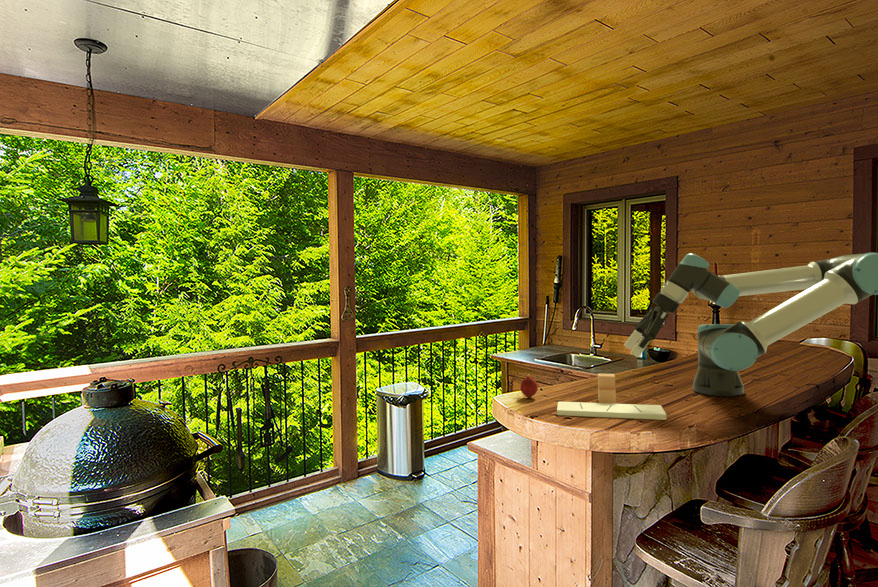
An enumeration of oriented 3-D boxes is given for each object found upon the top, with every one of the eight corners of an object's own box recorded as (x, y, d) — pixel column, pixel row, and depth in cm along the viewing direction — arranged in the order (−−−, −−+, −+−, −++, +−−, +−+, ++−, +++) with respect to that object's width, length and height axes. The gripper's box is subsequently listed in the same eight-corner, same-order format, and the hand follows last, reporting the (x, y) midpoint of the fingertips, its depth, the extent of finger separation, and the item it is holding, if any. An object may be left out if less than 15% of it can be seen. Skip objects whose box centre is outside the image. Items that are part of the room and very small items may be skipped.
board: (660, 410, 146) (660, 405, 146) (666, 419, 137) (666, 414, 137) (558, 406, 155) (558, 401, 155) (556, 415, 145) (556, 410, 145)
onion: (538, 400, 163) (537, 376, 163) (520, 400, 164) (520, 376, 163) (537, 396, 169) (536, 373, 168) (520, 396, 169) (520, 373, 169)
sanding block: (614, 399, 160) (613, 372, 160) (616, 406, 153) (615, 377, 152) (598, 399, 162) (597, 372, 162) (599, 405, 154) (598, 377, 154)
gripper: (651, 289, 170) (615, 338, 173) (668, 294, 145) (626, 352, 149) (670, 300, 168) (634, 350, 172) (690, 308, 144) (647, 365, 148)
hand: (630, 351), depth 161 cm, fingers open, 13 cm apart
